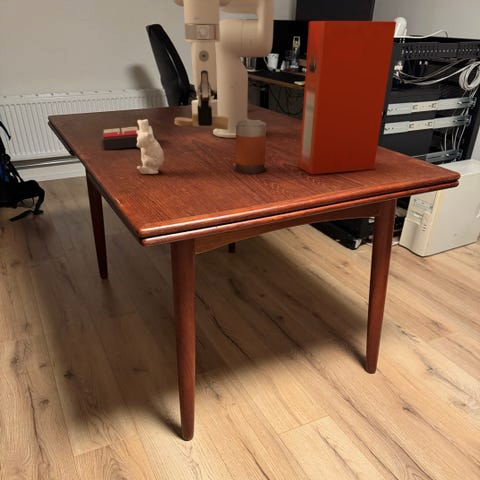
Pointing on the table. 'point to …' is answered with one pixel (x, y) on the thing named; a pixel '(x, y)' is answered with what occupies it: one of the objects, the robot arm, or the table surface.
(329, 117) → the file binder
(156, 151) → the white squirrel figurine
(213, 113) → the medicine bottle
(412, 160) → the table surface
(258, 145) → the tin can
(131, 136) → the calculator
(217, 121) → the wooden spoon
